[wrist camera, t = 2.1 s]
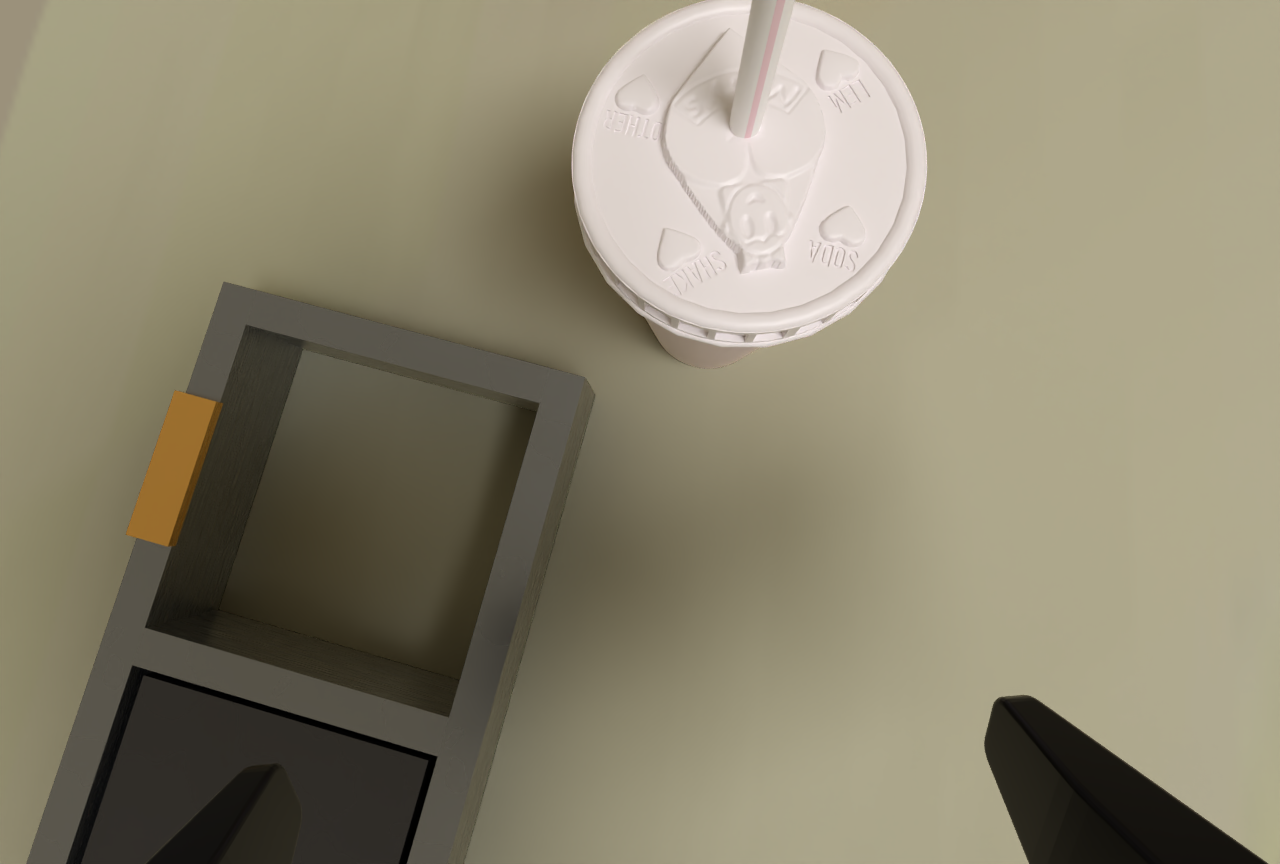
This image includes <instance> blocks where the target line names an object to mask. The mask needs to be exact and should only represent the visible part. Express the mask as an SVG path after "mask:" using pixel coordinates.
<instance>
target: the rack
mask: <svg viewBox="0 0 1280 864" xmlns="http://www.w3.org/2000/svg"><path fill="white" fill-rule="evenodd" d="M302 349H305V350H308V351H312V352H316V353H320V354H323V355H327V356H331V357H334V358H338V359H342V360H346V361H349V362H353V363H357V364H361V365H364V366H368V367H372V368H375V369H379V370H383V371H387V372H390V373H394V374H398V375H402V376H405V377H409V378H413V379H416V380H420V381H424V382H428V383H431V384H435V385H439V386H443V387H446V388H450V389H454V390H457V391H461V392H465V393H469V394H472V395H476V396H480V397H483V398H487V399H491V400H495V401H498V402H502V403H506V404H510V405H513V406H517V407H521V408H524V409H528V410H532V411H536V412H537V414H536V418H535V421H534V425H533V428H532V432H531V435H530V439H529V442H528V446H527V449H526V453H525V456H524V459H523V463H522V466H521V470H520V473H519V477H518V480H517V484H516V487H515V491H514V494H513V498H512V501H511V505H510V508H509V511H508V515H507V518H506V522H505V525H504V529H503V532H502V536H501V539H500V543H499V546H498V550H497V553H496V557H495V560H494V564H493V567H492V570H491V574H490V577H489V581H488V584H487V588H486V591H485V595H484V598H483V602H482V605H481V609H480V612H479V616H478V619H477V622H476V626H475V629H474V633H473V636H472V640H471V643H470V647H469V650H468V654H467V657H466V661H465V664H464V668H463V671H462V674H461V678H460V680H456V679H453V678H450V677H446V676H443V675H439V674H436V673H433V672H429V671H426V670H422V669H419V668H415V667H412V666H409V665H405V664H402V663H398V662H395V661H391V660H388V659H385V658H381V657H378V656H374V655H371V654H367V653H364V652H361V651H357V650H354V649H350V648H347V647H344V646H340V645H337V644H333V643H330V642H326V641H323V640H320V639H316V638H313V637H309V636H306V635H302V634H299V633H296V632H292V631H289V630H285V629H282V628H278V627H275V626H272V625H268V624H265V623H261V622H258V621H255V620H251V619H248V618H244V617H241V616H237V615H234V614H231V613H227V612H224V611H220V610H218V608H219V605H220V602H221V599H222V596H223V592H224V589H225V586H226V583H227V580H228V577H229V574H230V571H231V568H232V565H233V562H234V559H235V555H236V552H237V549H238V546H239V543H240V540H241V537H242V534H243V531H244V528H245V525H246V522H247V519H248V515H249V512H250V509H251V506H252V503H253V500H254V497H255V494H256V491H257V488H258V485H259V482H260V478H261V475H262V472H263V469H264V466H265V463H266V460H267V457H268V454H269V451H270V448H271V445H272V441H273V438H274V435H275V432H276V429H277V426H278V423H279V420H280V417H281V414H282V411H283V408H284V405H285V401H286V398H287V395H288V392H289V389H290V386H291V383H292V380H293V377H294V374H295V371H296V368H297V364H298V361H299V358H300V355H301V352H302ZM594 398H595V393H594V391H593V390H592V388H591V386H590V385H589V383H588V381H587V379H586V378H585V377H582V376H578V375H574V374H571V373H567V372H563V371H559V370H556V369H552V368H548V367H544V366H540V365H537V364H533V363H529V362H525V361H522V360H518V359H514V358H510V357H506V356H503V355H499V354H495V353H491V352H487V351H484V350H480V349H476V348H472V347H469V346H465V345H461V344H457V343H453V342H450V341H446V340H442V339H438V338H435V337H431V336H427V335H423V334H419V333H416V332H412V331H408V330H404V329H401V328H397V327H393V326H389V325H385V324H382V323H378V322H374V321H370V320H367V319H363V318H359V317H355V316H351V315H348V314H344V313H340V312H336V311H333V310H329V309H325V308H321V307H317V306H314V305H310V304H306V303H302V302H299V301H295V300H291V299H287V298H283V297H280V296H276V295H272V294H268V293H265V292H261V291H257V290H253V289H249V288H246V287H242V286H238V285H234V284H231V283H227V282H223V285H222V288H221V291H220V294H219V297H218V300H217V303H216V306H215V309H214V312H213V315H212V318H211V321H210V324H209V327H208V330H207V333H206V335H205V338H204V341H203V344H202V347H201V350H200V353H199V356H198V359H197V362H196V365H195V368H194V371H193V374H192V377H191V380H190V383H189V386H188V389H187V391H186V393H184V392H180V391H176V390H175V391H174V394H173V397H172V400H171V403H170V406H169V409H168V412H167V415H166V418H165V421H164V424H163V426H162V429H161V432H160V435H159V438H158V441H157V444H156V447H155V450H154V453H153V456H152V459H151V462H150V465H149V468H148V470H147V473H146V476H145V479H144V482H143V485H142V488H141V491H140V494H139V497H138V500H137V503H136V506H135V509H134V512H133V514H132V517H131V520H130V523H129V526H128V529H127V532H126V535H129V536H132V537H136V538H137V539H136V542H135V545H134V548H133V551H132V554H131V557H130V560H129V562H128V565H127V568H126V571H125V574H124V577H123V580H122V583H121V586H120V589H119V592H118V595H117V598H116V601H115V604H114V607H113V610H112V613H111V616H110V619H109V621H108V624H107V627H106V630H105V633H104V636H103V639H102V642H101V645H100V648H99V651H98V654H97V657H96V660H95V663H94V666H93V669H92V672H91V675H90V677H89V680H88V683H87V686H86V689H85V692H84V695H83V698H82V701H81V704H80V707H79V710H78V713H77V716H76V719H75V722H74V725H73V728H72V731H71V734H70V736H69V739H68V742H67V745H66V748H65V751H64V754H63V757H62V760H61V763H60V766H59V769H58V772H57V775H56V778H55V781H54V784H53V787H52V790H51V792H50V795H49V798H48V801H47V804H46V807H45V810H44V813H43V816H42V819H41V822H40V825H39V828H38V831H37V834H36V837H35V840H34V843H33V846H32V849H31V851H30V854H29V857H28V860H27V863H26V864H145V863H146V862H147V861H148V860H149V859H150V858H151V857H152V856H153V855H154V854H155V853H156V852H157V851H158V850H159V849H161V848H162V847H163V846H164V845H165V844H166V843H167V842H168V841H169V840H170V839H171V838H172V837H173V836H174V835H175V834H176V833H177V832H178V831H179V830H180V829H181V828H182V827H183V826H184V825H185V824H186V823H187V822H188V821H189V820H190V819H191V818H192V817H193V816H195V815H196V814H197V813H198V812H199V811H200V810H201V809H202V808H203V807H204V806H205V805H206V804H207V803H208V802H209V801H210V800H211V799H212V798H213V797H214V796H215V795H216V794H217V793H218V792H219V791H220V790H221V789H222V788H223V787H224V786H225V785H226V784H228V783H229V782H230V781H231V780H232V779H233V778H234V777H235V776H236V775H237V774H238V773H239V772H240V771H242V770H243V769H245V768H246V767H249V766H253V765H263V764H274V763H277V764H280V765H282V766H283V767H284V768H285V770H286V772H287V774H288V776H289V778H290V780H291V783H292V785H293V787H294V789H295V792H296V794H297V796H298V798H299V800H300V803H301V807H302V821H301V827H300V831H299V835H298V839H297V844H296V848H295V852H294V856H293V861H292V864H464V861H465V858H466V854H467V850H468V847H469V843H470V840H471V836H472V833H473V829H474V826H475V822H476V818H477V815H478V811H479V808H480V804H481V801H482V797H483V794H484V790H485V786H486V783H487V779H488V776H489V772H490V769H491V765H492V761H493V758H494V754H495V751H496V747H497V744H498V740H499V737H500V733H501V729H502V726H503V722H504V719H505V715H506V712H507V708H508V704H509V701H510V697H511V694H512V690H513V687H514V683H515V680H516V676H517V672H518V669H519V665H520V662H521V658H522V655H523V651H524V648H525V644H526V640H527V637H528V633H529V630H530V626H531V623H532V619H533V615H534V612H535V608H536V605H537V601H538V598H539V594H540V591H541V587H542V583H543V580H544V576H545V573H546V569H547V566H548V562H549V558H550V555H551V551H552V548H553V544H554V541H555V537H556V534H557V530H558V526H559V523H560V519H561V516H562V512H563V509H564V505H565V502H566V498H567V494H568V491H569V487H570V484H571V480H572V477H573V473H574V469H575V466H576V462H577V459H578V455H579V452H580V448H581V445H582V441H583V437H584V434H585V430H586V427H587V423H588V420H589V416H590V413H591V409H592V405H593V402H594Z"/></svg>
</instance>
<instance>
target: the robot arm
mask: <svg viewBox="0 0 1280 864" xmlns="http://www.w3.org/2000/svg"><path fill="white" fill-rule="evenodd" d="M984 747H985V753H986V757H987V760H988V763H989V765H990V768H991V770H992V773H993V775H994V778H995V780H996V783H997V785H998V788H999V790H1000V793H1001V795H1002V798H1003V800H1004V803H1005V805H1006V808H1007V810H1008V812H1009V815H1010V817H1011V820H1012V822H1013V825H1014V827H1015V830H1016V832H1017V835H1018V837H1019V840H1020V842H1021V845H1022V847H1023V850H1024V852H1025V855H1026V857H1027V860H1028V862H1029V864H1268V863H1267V862H1265V861H1264V860H1263V859H1261V858H1260V857H1258V856H1257V855H1255V854H1254V853H1253V852H1251V851H1250V850H1248V849H1247V848H1246V847H1244V846H1243V845H1241V844H1240V843H1239V842H1237V841H1236V840H1234V839H1233V838H1232V837H1230V836H1229V835H1227V834H1226V833H1225V832H1223V831H1222V830H1220V829H1219V828H1217V827H1216V826H1215V825H1213V824H1212V823H1210V822H1209V821H1208V820H1206V819H1205V818H1203V817H1202V816H1201V815H1199V814H1198V813H1196V812H1195V811H1194V810H1192V809H1191V808H1189V807H1188V806H1186V805H1185V804H1184V803H1182V802H1181V801H1179V800H1178V799H1177V798H1175V797H1174V796H1172V795H1171V794H1170V793H1168V792H1167V791H1165V790H1164V789H1163V788H1161V787H1160V786H1158V785H1157V784H1156V783H1154V782H1153V781H1151V780H1150V779H1148V778H1147V777H1146V776H1144V775H1143V774H1141V773H1140V772H1139V771H1137V770H1136V769H1134V768H1133V767H1132V766H1130V765H1129V764H1127V763H1126V762H1125V761H1123V760H1122V759H1120V758H1119V757H1118V756H1116V755H1115V754H1113V753H1112V752H1110V751H1109V750H1108V749H1106V748H1105V747H1103V746H1102V745H1101V744H1099V743H1098V742H1096V741H1095V740H1094V739H1092V738H1091V737H1089V736H1088V735H1087V734H1085V733H1084V732H1082V731H1081V730H1080V729H1078V728H1077V727H1075V726H1074V725H1072V724H1071V723H1070V722H1068V721H1067V720H1065V719H1064V718H1063V717H1061V716H1060V715H1058V714H1057V713H1056V712H1054V711H1053V710H1051V709H1050V708H1049V707H1047V706H1046V705H1044V704H1043V703H1041V702H1040V701H1039V700H1037V699H1035V698H1033V697H1031V696H1028V695H1017V696H1006V697H1000V698H998V699H997V700H996V701H995V702H994V704H993V708H992V712H991V716H990V720H989V724H988V727H987V731H986V735H985V741H984ZM301 821H302V807H301V803H300V800H299V798H298V796H297V794H296V792H295V789H294V787H293V785H292V783H291V780H290V778H289V776H288V774H287V772H286V770H285V768H284V767H283V766H282V765H280V764H277V763H274V764H263V765H253V766H249V767H246V768H245V769H243V770H242V771H240V772H239V773H238V774H237V775H236V776H235V777H234V778H233V779H232V780H231V781H230V782H229V783H228V784H226V785H225V786H224V787H223V788H222V789H221V790H220V791H219V792H218V793H217V794H216V795H215V796H214V797H213V798H212V799H211V800H210V801H209V802H208V803H207V804H206V805H205V806H204V807H203V808H202V809H201V810H200V811H199V812H198V813H197V814H196V815H195V816H193V817H192V818H191V819H190V820H189V821H188V822H187V823H186V824H185V825H184V826H183V827H182V828H181V829H180V830H179V831H178V832H177V833H176V834H175V835H174V836H173V837H172V838H171V839H170V840H169V841H168V842H167V843H166V844H165V845H164V846H163V847H162V848H161V849H159V850H158V851H157V852H156V853H155V854H154V855H153V856H152V857H151V858H150V859H149V860H148V861H147V862H146V863H145V864H292V861H293V856H294V852H295V848H296V844H297V839H298V835H299V831H300V827H301Z"/></svg>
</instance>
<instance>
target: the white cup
mask: <svg viewBox="0 0 1280 864" xmlns="http://www.w3.org/2000/svg"><path fill="white" fill-rule="evenodd" d="M926 176H927V151H926V144H925V136H924V132H923V127H922V123H921V119H920V116H919V113H918V111H917V108H916V105H915V102H914V100H913V98H912V96H911V94H910V92H909V90H908V88H907V86H906V84H905V83H904V81H903V79H902V78H901V76H900V74H899V73H898V72H897V70H896V69H895V68H894V66H893V65H892V63H891V62H890V61H889V60H888V59H887V58H886V56H885V55H884V54H883V53H882V52H881V51H880V50H879V49H878V48H877V47H876V46H875V45H874V44H873V43H872V42H871V41H870V40H869V39H867V38H866V37H865V36H864V35H862V34H861V33H860V32H858V31H857V30H856V29H854V28H853V27H852V26H850V25H848V24H847V23H845V22H843V21H842V20H840V19H839V18H837V17H835V16H832V15H830V14H828V13H826V12H824V11H822V10H819V9H817V8H814V7H812V6H809V5H806V4H802V3H799V2H795V0H706V1H702V2H699V3H695V4H692V5H689V6H686V7H684V8H681V9H678V10H676V11H674V12H671V13H669V14H667V15H665V16H663V17H661V18H659V19H658V20H656V21H655V22H653V23H651V24H650V25H648V26H646V27H645V28H644V29H642V30H641V31H640V32H638V33H637V34H636V35H634V36H633V37H632V38H631V39H630V40H628V41H627V42H626V43H625V44H624V45H623V46H622V47H621V48H620V49H619V50H618V51H617V52H616V53H615V54H614V55H613V56H612V58H611V59H610V60H609V61H608V62H607V64H606V65H605V66H604V68H603V69H602V70H601V72H600V73H599V75H598V76H597V78H596V80H595V81H594V83H593V85H592V86H591V88H590V90H589V92H588V95H587V97H586V99H585V101H584V103H583V106H582V109H581V112H580V114H579V117H578V121H577V125H576V129H575V133H574V140H573V147H572V181H573V188H574V205H575V209H576V213H577V217H578V221H579V224H580V228H581V232H582V236H583V240H584V243H585V246H586V248H587V250H588V251H589V253H590V255H591V257H592V258H593V260H594V262H595V263H596V265H597V267H598V269H599V270H600V272H601V274H602V275H603V277H604V279H605V281H606V282H607V284H608V285H609V286H610V287H612V288H613V289H614V290H615V291H616V292H617V293H618V294H619V295H620V296H621V297H622V298H623V299H624V300H625V301H626V302H627V303H628V304H629V305H630V306H631V307H632V308H633V309H634V310H635V311H636V312H637V313H638V314H639V315H641V316H643V317H645V319H646V320H647V322H648V324H649V325H650V327H651V329H652V331H653V332H654V334H655V336H656V337H657V339H658V341H659V342H660V344H661V345H662V346H663V348H664V349H665V350H666V351H667V352H668V353H669V354H670V355H672V356H673V357H674V358H676V359H677V360H679V361H681V362H682V363H685V364H687V365H690V366H693V367H698V368H719V367H724V366H727V365H730V364H732V363H734V362H736V361H738V360H740V359H742V358H743V357H745V356H747V355H748V354H750V353H752V352H754V351H755V350H757V349H759V348H760V347H770V346H774V345H777V344H781V343H785V342H789V341H793V340H796V339H800V338H804V337H808V336H811V335H813V334H815V333H816V332H818V331H820V330H822V329H823V328H825V327H827V326H829V325H830V324H832V323H834V322H836V321H837V320H839V319H841V318H843V317H844V316H846V315H848V314H850V313H851V312H852V311H853V310H854V309H855V308H856V307H857V306H858V305H859V304H860V303H861V302H862V301H863V300H864V299H865V298H866V297H867V296H868V295H869V294H870V293H871V292H872V291H873V290H874V289H875V288H876V287H877V286H878V285H879V284H880V283H881V282H882V280H883V279H884V277H885V275H886V273H887V271H888V270H889V268H890V267H891V266H892V265H893V264H894V262H895V261H896V259H897V258H898V256H899V255H900V253H901V252H902V250H903V249H904V247H905V245H906V243H907V241H908V240H909V238H910V236H911V234H912V231H913V229H914V227H915V224H916V222H917V220H918V216H919V213H920V210H921V206H922V203H923V198H924V193H925V187H926Z"/></svg>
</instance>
